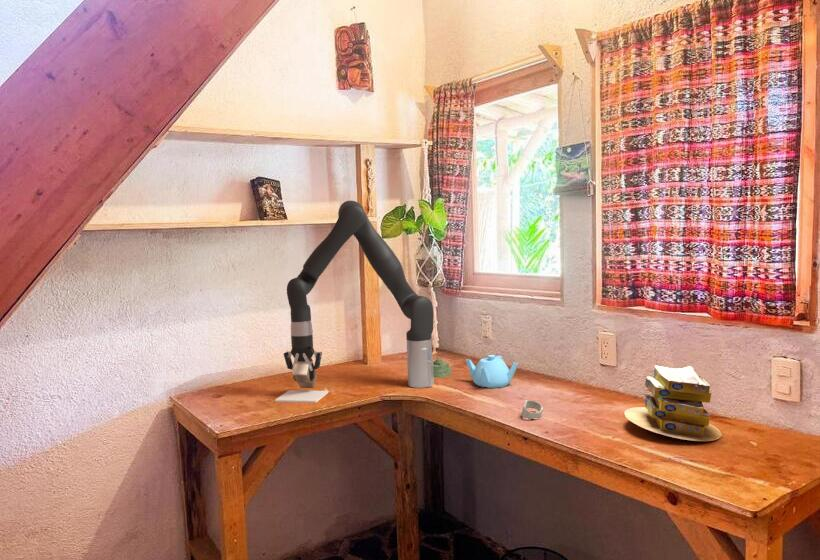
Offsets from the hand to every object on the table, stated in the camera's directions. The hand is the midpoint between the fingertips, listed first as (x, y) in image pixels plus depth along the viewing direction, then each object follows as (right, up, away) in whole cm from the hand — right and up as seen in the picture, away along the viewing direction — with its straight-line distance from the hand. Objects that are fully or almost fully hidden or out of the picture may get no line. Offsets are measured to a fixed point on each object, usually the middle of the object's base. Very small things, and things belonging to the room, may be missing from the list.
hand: (304, 380), depth 219 cm
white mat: (0, -5, -2) cm, 6 cm away
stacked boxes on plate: (+110, -6, -48) cm, 121 cm away
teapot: (+68, -3, +7) cm, 68 cm away
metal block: (+1, -1, +4) cm, 5 cm away
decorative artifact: (+49, -2, +24) cm, 55 cm away
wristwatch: (+75, -6, -32) cm, 82 cm away
